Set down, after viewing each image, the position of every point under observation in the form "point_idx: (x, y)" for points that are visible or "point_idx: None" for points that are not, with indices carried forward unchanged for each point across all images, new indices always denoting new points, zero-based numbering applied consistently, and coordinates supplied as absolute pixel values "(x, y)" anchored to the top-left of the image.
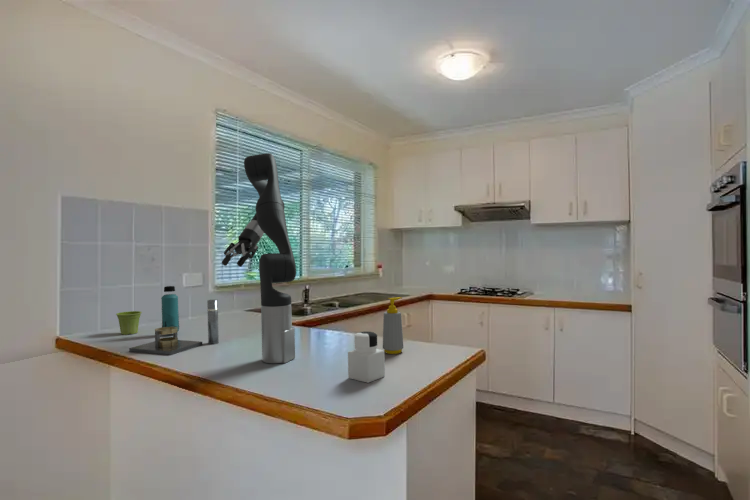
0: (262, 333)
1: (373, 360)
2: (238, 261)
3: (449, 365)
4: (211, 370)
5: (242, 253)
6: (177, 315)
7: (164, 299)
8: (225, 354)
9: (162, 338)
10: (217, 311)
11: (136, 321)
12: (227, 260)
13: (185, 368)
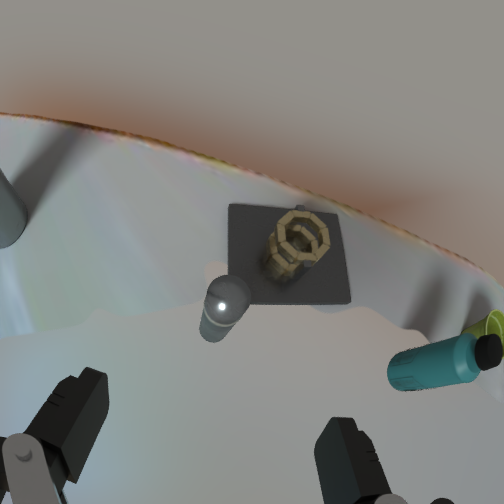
0: (3, 173)
1: None
2: (84, 382)
3: None
4: (88, 152)
5: (51, 484)
6: (415, 375)
7: (461, 334)
8: (111, 236)
9: (312, 252)
10: (204, 312)
11: None
12: (331, 478)
13: (135, 150)
